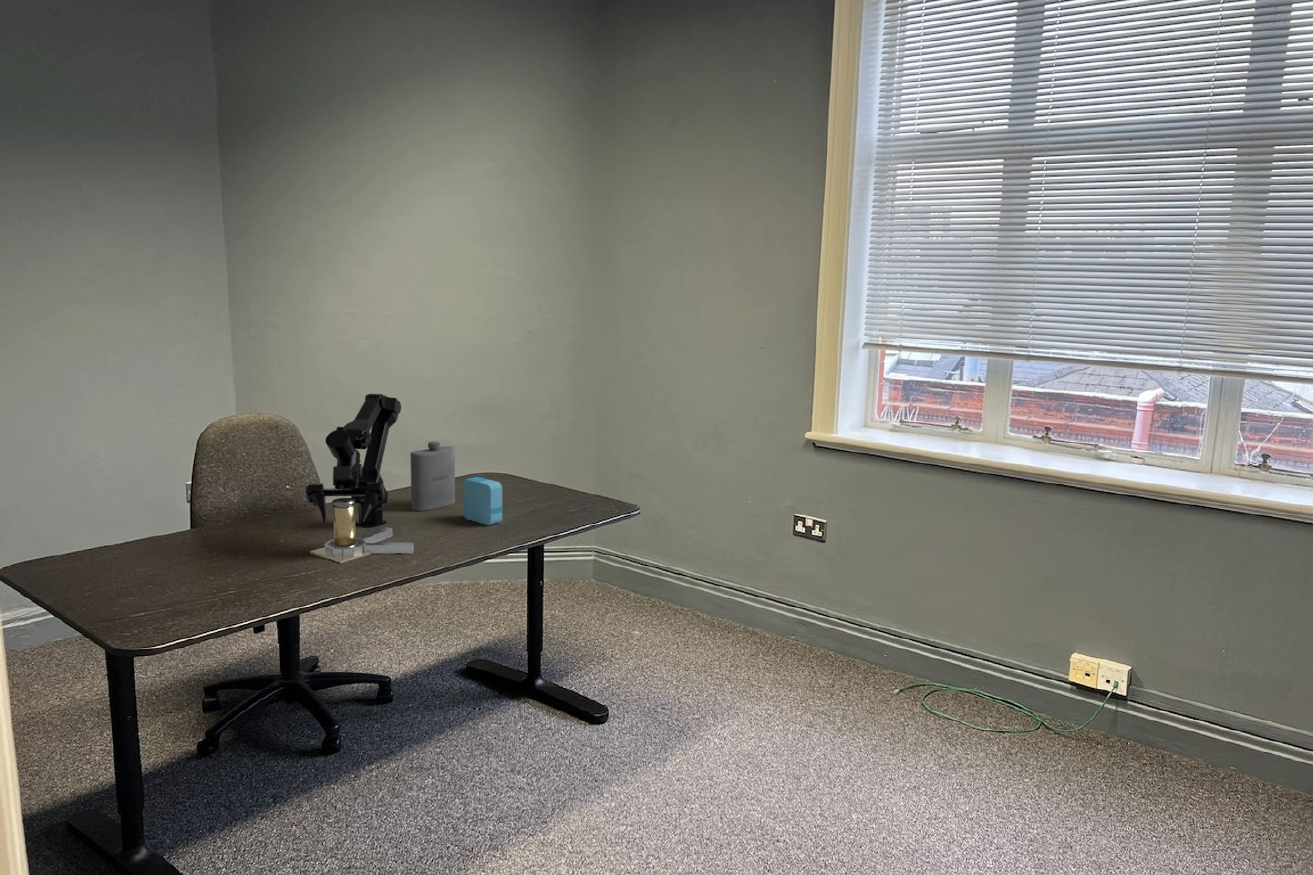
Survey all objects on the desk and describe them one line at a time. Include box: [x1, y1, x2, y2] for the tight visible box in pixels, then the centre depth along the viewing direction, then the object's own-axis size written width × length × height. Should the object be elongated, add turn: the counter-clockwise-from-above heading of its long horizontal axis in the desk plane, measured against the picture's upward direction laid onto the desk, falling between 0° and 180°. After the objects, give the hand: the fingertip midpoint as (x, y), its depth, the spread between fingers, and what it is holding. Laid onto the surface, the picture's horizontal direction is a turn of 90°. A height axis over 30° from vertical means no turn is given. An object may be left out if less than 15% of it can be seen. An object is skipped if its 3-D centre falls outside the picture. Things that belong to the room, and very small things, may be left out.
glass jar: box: [332, 497, 357, 548], centre depth 234 cm, size 5×5×13 cm
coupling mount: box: [309, 526, 414, 564], centre depth 238 cm, size 20×23×2 cm
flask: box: [410, 440, 456, 512], centre depth 279 cm, size 15×6×20 cm, turn 141°
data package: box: [462, 476, 503, 526], centre depth 266 cm, size 12×4×12 cm, turn 51°
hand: (343, 521), depth 233 cm, fingers open, 9 cm apart
